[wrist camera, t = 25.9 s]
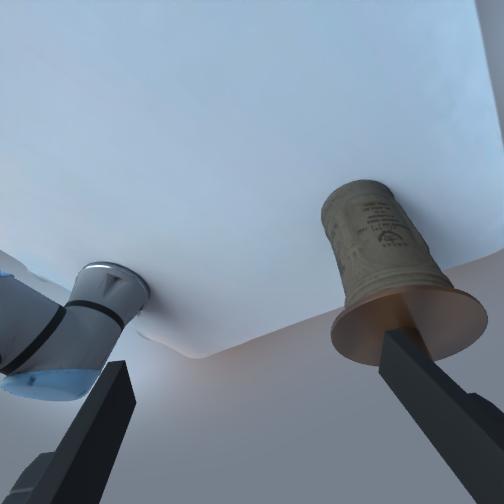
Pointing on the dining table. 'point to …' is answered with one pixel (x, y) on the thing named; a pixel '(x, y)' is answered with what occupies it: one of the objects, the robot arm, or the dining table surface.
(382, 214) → the beer stein
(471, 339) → the lid
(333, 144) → the dining table surface
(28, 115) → the dining table surface
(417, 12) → the dining table surface
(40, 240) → the dining table surface
